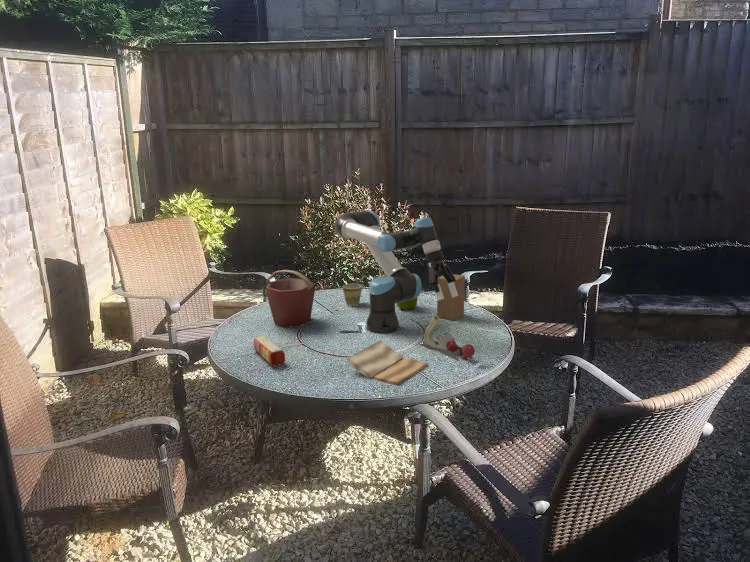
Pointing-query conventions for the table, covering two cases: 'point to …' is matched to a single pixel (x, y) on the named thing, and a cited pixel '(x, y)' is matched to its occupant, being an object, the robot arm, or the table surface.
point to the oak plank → (401, 371)
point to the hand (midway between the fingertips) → (448, 298)
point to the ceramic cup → (352, 294)
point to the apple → (408, 304)
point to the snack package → (269, 351)
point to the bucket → (290, 299)
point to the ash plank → (374, 359)
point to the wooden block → (451, 299)
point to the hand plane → (445, 342)
